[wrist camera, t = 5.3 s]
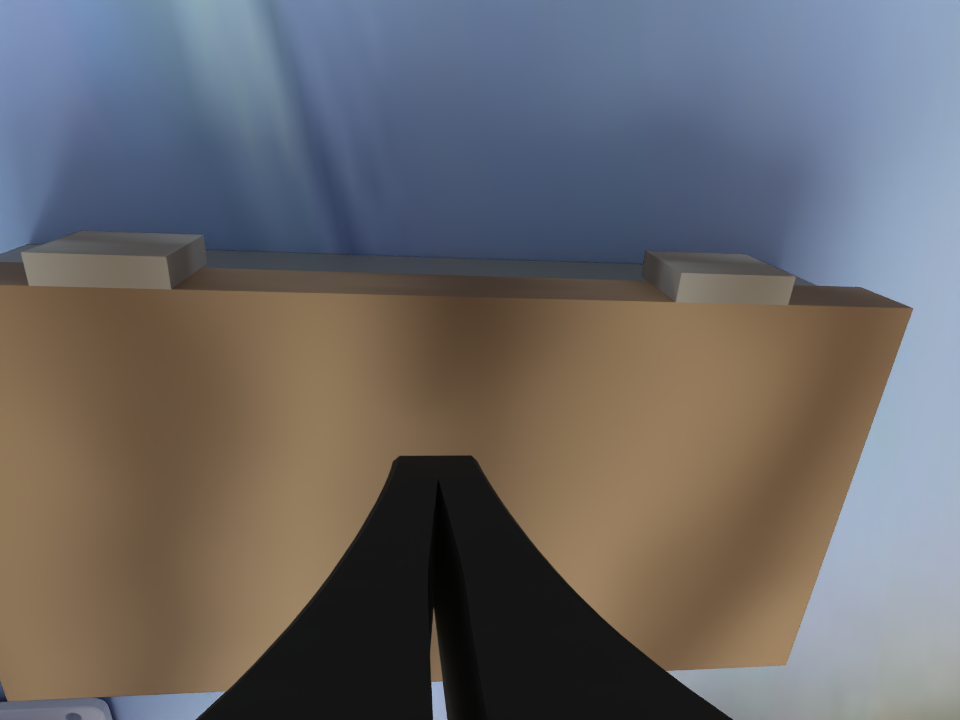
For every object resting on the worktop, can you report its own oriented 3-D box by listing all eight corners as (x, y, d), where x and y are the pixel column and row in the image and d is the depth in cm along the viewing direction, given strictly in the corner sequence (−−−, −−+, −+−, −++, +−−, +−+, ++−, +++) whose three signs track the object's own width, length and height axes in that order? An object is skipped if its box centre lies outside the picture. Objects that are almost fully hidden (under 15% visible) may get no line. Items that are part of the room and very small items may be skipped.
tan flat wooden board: (54, 633, 16) (7, 701, 14) (-69, 225, 12) (-159, 247, 10) (749, 609, 18) (785, 665, 16) (856, 258, 14) (922, 280, 12)
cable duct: (106, 558, 19) (52, 636, 16) (28, 244, 15) (-62, 277, 12) (706, 544, 21) (750, 611, 18) (780, 268, 17) (849, 300, 14)
